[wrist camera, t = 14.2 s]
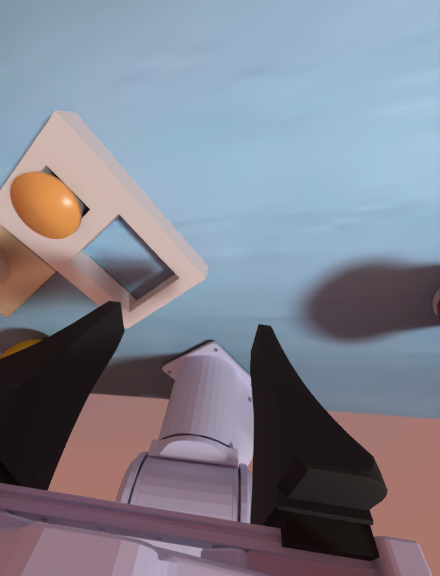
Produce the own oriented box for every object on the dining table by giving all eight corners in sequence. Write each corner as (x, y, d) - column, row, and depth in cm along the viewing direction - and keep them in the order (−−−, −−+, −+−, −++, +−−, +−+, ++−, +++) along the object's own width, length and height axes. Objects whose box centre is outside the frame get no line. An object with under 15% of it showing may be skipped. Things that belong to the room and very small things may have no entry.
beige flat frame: (208, 267, 21) (205, 278, 20) (134, 316, 25) (126, 329, 24) (75, 112, 16) (55, 110, 14) (7, 204, 20) (-15, 211, 18)
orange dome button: (110, 204, 19) (89, 215, 16) (78, 235, 21) (55, 250, 18) (61, 152, 17) (30, 156, 15) (31, 192, 19) (-2, 201, 17)
